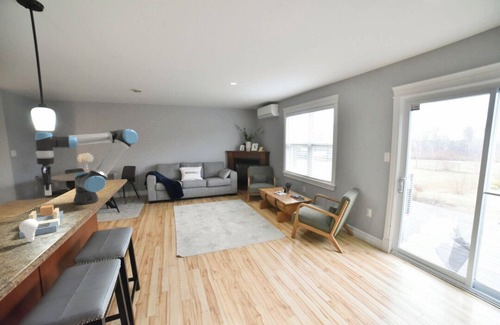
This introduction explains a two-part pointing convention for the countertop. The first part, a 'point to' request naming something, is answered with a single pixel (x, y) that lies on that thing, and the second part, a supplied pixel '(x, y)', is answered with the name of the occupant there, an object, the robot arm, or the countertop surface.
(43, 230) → the tunnel deck
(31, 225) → the lightbulb
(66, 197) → the countertop surface
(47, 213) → the block
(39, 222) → the pad
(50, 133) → the robot arm
